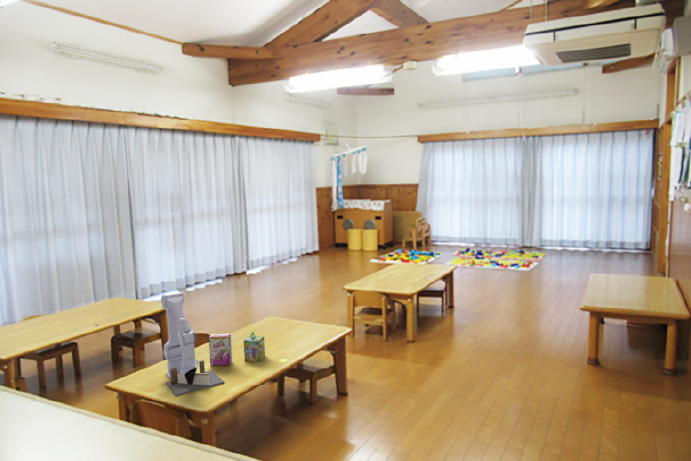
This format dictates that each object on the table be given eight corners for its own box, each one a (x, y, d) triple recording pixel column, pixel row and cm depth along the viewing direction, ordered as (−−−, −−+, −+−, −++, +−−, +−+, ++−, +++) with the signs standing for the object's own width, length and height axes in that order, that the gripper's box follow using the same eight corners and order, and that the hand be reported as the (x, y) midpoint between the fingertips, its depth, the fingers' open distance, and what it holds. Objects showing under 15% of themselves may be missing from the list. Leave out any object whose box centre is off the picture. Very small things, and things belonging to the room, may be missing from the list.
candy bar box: (210, 366, 257) (208, 336, 255) (212, 362, 262) (210, 333, 260) (230, 365, 257) (229, 336, 255) (232, 361, 262) (231, 333, 260)
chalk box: (259, 362, 260) (258, 336, 259) (244, 361, 262) (242, 335, 261) (265, 356, 269) (264, 330, 268) (250, 355, 271) (249, 330, 270)
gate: (178, 383, 233) (177, 372, 232) (179, 382, 234) (178, 371, 233) (208, 384, 230) (207, 374, 229) (209, 384, 231) (208, 373, 230)
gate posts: (170, 384, 234) (169, 369, 233) (203, 374, 246) (202, 359, 245) (172, 386, 232) (171, 371, 231) (205, 376, 243) (204, 361, 243)
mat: (165, 383, 236) (165, 381, 236) (212, 371, 249) (212, 369, 249) (175, 396, 221) (175, 394, 221) (224, 383, 234) (224, 381, 234)
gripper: (189, 362, 218) (191, 391, 220) (203, 351, 232) (204, 378, 234) (175, 362, 219) (176, 390, 221) (189, 351, 233) (191, 377, 235)
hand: (190, 384), depth 227 cm, fingers closed
